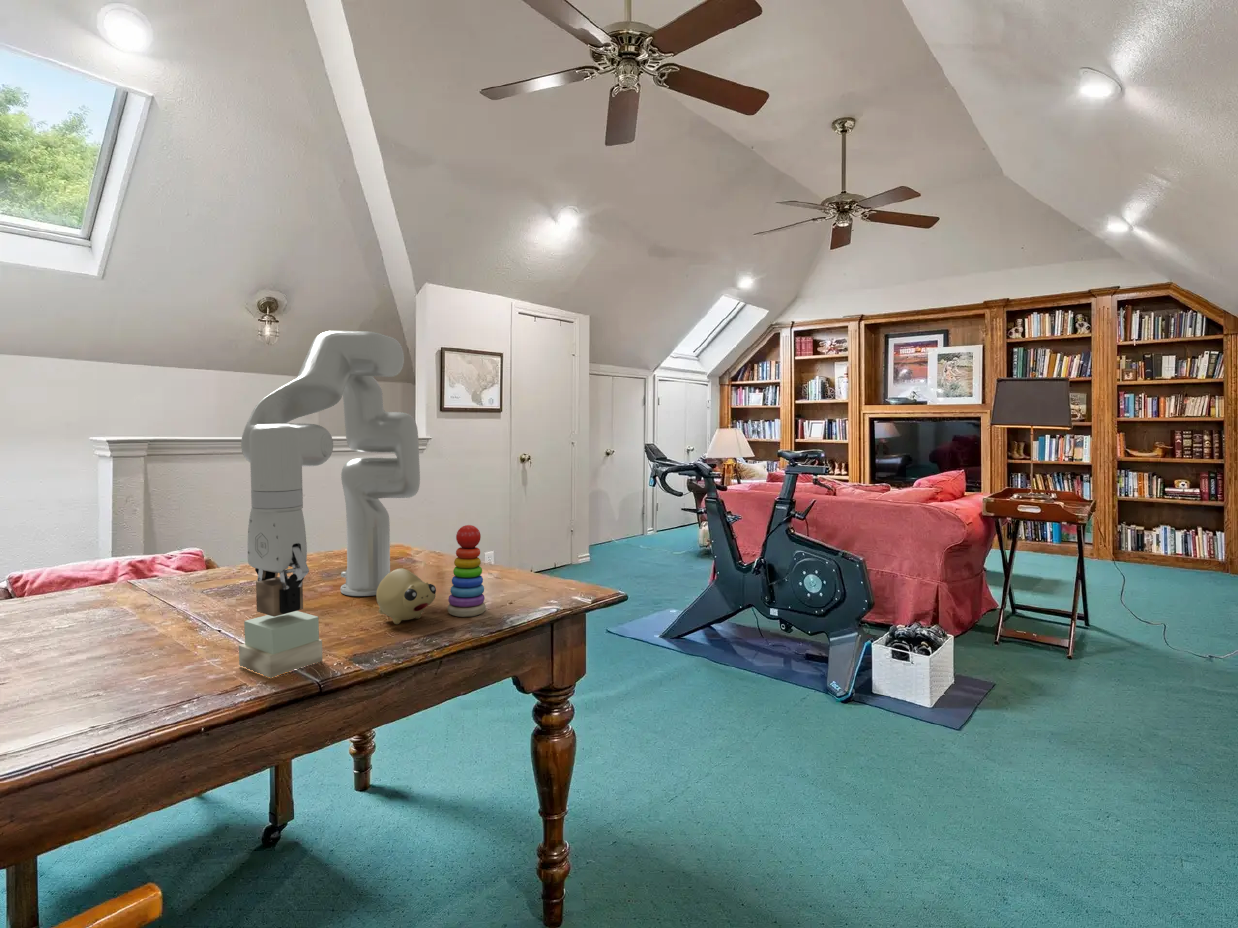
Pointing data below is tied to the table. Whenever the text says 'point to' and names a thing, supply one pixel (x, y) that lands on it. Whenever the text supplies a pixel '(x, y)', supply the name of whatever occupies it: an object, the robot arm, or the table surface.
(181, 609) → the table surface
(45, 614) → the table surface
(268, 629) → the top block
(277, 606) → the walnut cube
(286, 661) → the base block
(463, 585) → the stacking toy
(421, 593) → the toy frog
